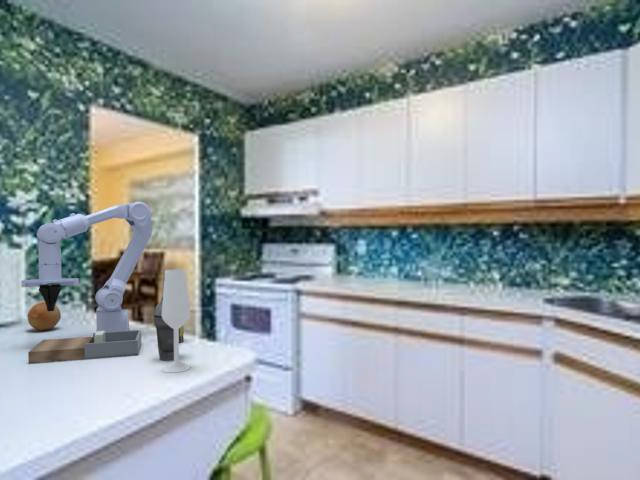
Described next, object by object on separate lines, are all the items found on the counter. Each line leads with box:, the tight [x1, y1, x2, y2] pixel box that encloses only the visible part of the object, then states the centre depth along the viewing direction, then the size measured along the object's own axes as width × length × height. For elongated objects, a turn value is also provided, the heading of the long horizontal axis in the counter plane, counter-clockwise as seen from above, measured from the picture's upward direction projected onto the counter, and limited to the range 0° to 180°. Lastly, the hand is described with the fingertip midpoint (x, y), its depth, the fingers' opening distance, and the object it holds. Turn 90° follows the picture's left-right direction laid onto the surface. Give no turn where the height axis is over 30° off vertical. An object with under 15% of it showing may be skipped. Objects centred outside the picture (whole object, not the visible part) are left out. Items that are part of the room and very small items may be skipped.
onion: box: [26, 300, 62, 332], centre depth 160 cm, size 10×10×10 cm
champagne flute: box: [161, 269, 191, 373], centre depth 115 cm, size 7×7×24 cm
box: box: [84, 329, 142, 360], centre depth 132 cm, size 13×14×4 cm
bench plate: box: [27, 336, 93, 365], centre depth 128 cm, size 13×14×3 cm
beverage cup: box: [153, 282, 180, 362], centre depth 124 cm, size 7×7×20 cm
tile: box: [94, 330, 106, 343], centre depth 130 cm, size 5×5×2 cm
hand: (51, 310), depth 138 cm, fingers closed
